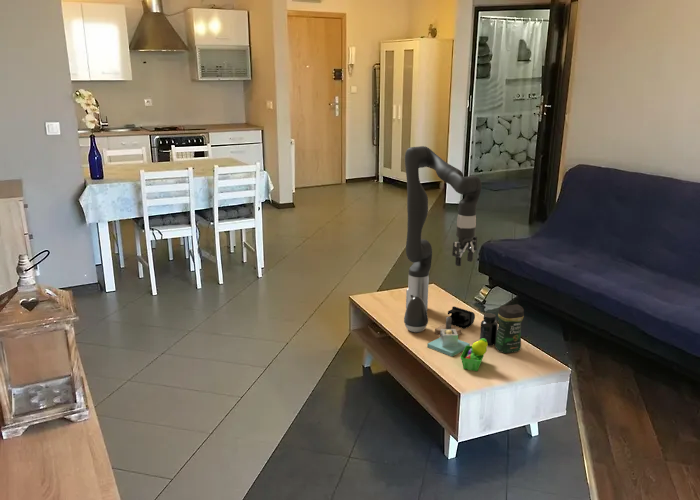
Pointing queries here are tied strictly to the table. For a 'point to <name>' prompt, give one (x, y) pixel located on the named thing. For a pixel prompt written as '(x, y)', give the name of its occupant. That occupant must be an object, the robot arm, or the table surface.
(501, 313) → the coffee jar
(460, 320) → the end cap
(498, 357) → the table surface
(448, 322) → the stand
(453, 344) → the collar
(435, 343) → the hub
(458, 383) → the table surface
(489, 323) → the supplement bottle
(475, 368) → the fruit basket
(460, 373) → the table surface
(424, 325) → the dark grey rounded cone
